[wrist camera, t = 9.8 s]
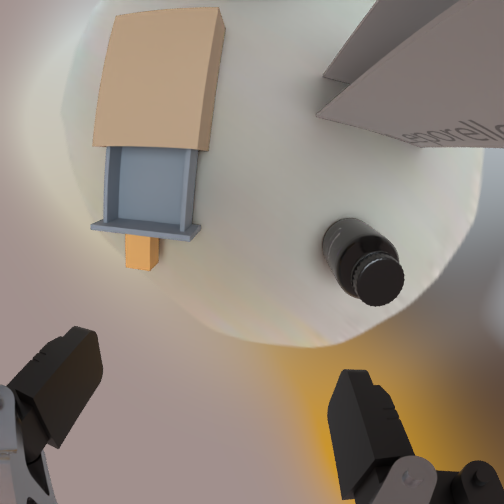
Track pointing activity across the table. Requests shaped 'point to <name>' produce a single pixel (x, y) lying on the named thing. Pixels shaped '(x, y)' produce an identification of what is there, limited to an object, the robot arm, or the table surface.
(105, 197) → the tray
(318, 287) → the table surface
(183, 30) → the sleeve
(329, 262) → the supplement bottle
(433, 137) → the grey standing panel
